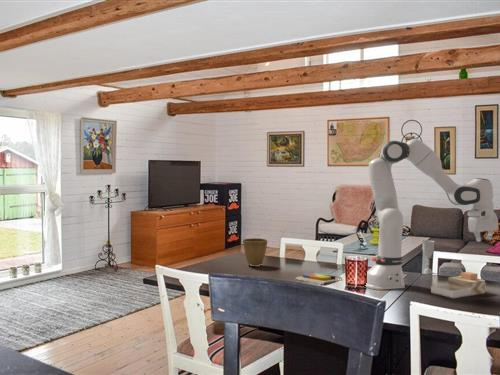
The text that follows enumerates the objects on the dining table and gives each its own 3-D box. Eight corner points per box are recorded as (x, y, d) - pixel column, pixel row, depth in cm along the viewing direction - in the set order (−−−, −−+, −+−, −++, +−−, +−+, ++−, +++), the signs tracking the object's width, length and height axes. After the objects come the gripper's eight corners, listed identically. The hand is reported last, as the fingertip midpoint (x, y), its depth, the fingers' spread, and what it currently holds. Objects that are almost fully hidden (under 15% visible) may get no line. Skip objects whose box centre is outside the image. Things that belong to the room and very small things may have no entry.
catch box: (453, 298, 208) (453, 291, 208) (430, 292, 219) (431, 286, 219) (470, 295, 214) (470, 288, 214) (448, 290, 225) (448, 283, 225)
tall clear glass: (425, 274, 263) (425, 242, 263) (418, 271, 270) (419, 240, 269) (437, 273, 264) (437, 241, 264) (430, 271, 271) (430, 240, 271)
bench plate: (470, 295, 214) (470, 282, 214) (448, 290, 225) (448, 277, 225) (484, 293, 219) (484, 280, 219) (462, 287, 229) (462, 275, 229)
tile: (470, 279, 219) (470, 274, 219) (461, 278, 224) (461, 272, 224) (477, 278, 222) (477, 273, 222) (467, 277, 226) (468, 271, 226)
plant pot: (238, 265, 288) (238, 239, 288) (260, 263, 295) (260, 237, 294) (248, 269, 275) (249, 241, 275) (271, 267, 281) (271, 240, 281)
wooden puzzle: (342, 280, 247) (342, 274, 247) (323, 286, 233) (323, 279, 233) (315, 276, 259) (315, 269, 259) (294, 281, 245) (294, 274, 245)
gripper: (488, 210, 235) (489, 237, 235) (465, 212, 224) (466, 241, 224) (501, 210, 230) (502, 238, 230) (478, 213, 219) (479, 243, 219)
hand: (484, 240), depth 227 cm, fingers open, 8 cm apart
